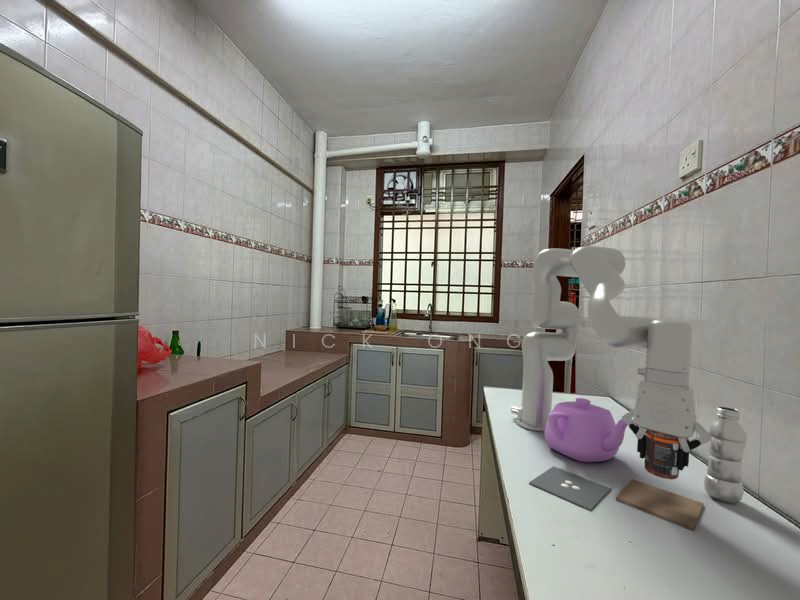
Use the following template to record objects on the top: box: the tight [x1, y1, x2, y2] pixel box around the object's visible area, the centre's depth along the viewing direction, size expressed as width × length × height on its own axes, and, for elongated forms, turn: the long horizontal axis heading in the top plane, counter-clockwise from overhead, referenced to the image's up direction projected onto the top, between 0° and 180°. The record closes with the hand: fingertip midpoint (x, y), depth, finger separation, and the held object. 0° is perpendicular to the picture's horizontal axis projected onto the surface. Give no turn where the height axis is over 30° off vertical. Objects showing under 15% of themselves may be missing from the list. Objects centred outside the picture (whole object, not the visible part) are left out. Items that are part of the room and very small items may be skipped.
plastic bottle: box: [703, 406, 748, 504], centre depth 79 cm, size 6×7×20 cm
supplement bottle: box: [644, 430, 681, 480], centre depth 76 cm, size 6×6×11 cm
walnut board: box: [615, 478, 704, 531], centre depth 76 cm, size 13×13×1 cm
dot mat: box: [528, 465, 612, 511], centre depth 80 cm, size 13×13×1 cm
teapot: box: [544, 397, 634, 463], centre depth 96 cm, size 23×21×15 cm
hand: (661, 461), depth 76 cm, fingers closed on supplement bottle, 6 cm apart
